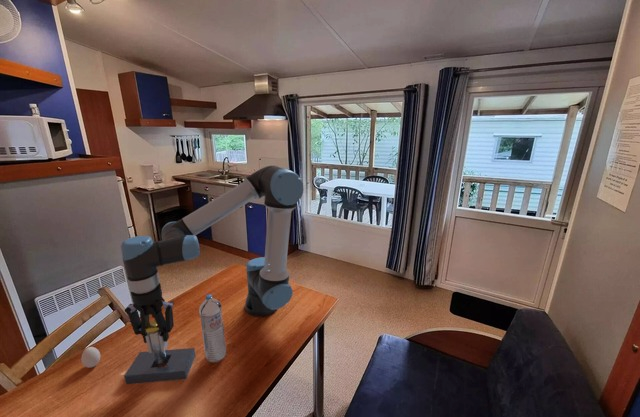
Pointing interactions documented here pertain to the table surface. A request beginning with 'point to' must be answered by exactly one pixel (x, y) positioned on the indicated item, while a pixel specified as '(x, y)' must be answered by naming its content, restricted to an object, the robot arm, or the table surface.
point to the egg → (90, 357)
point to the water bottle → (212, 329)
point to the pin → (155, 342)
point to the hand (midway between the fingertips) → (158, 348)
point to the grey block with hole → (150, 372)
